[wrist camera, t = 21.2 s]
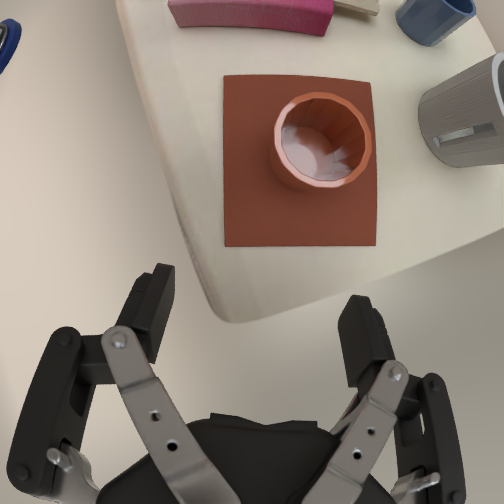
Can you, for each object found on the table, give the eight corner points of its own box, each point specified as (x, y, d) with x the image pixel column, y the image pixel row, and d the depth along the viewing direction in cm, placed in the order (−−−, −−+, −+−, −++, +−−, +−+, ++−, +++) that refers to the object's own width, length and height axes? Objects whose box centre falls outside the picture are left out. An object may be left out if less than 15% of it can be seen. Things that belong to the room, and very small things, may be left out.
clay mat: (225, 246, 26) (224, 246, 26) (224, 77, 24) (223, 75, 23) (374, 245, 26) (375, 245, 26) (369, 84, 23) (370, 82, 23)
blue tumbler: (401, 38, 22) (436, 3, 14) (390, 1, 21) (418, -37, 12) (443, 52, 22) (483, 25, 13) (432, 15, 21) (465, -16, 12)
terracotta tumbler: (269, 190, 25) (274, 187, 17) (268, 123, 24) (272, 89, 16) (337, 191, 25) (373, 190, 17) (335, 126, 24) (368, 97, 16)
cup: (484, 121, 23) (554, 104, 11) (467, 183, 25) (547, 184, 13) (430, 72, 22) (494, 32, 11) (407, 135, 24) (485, 107, 12)
